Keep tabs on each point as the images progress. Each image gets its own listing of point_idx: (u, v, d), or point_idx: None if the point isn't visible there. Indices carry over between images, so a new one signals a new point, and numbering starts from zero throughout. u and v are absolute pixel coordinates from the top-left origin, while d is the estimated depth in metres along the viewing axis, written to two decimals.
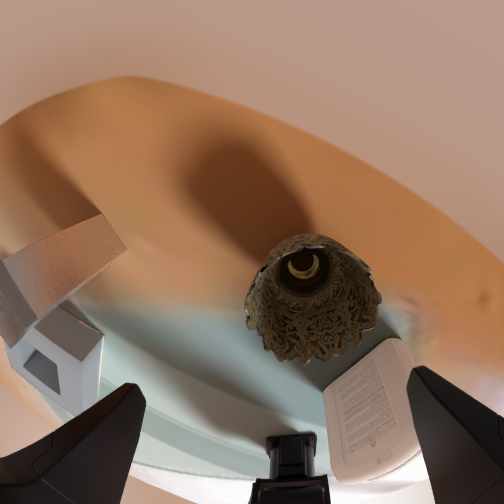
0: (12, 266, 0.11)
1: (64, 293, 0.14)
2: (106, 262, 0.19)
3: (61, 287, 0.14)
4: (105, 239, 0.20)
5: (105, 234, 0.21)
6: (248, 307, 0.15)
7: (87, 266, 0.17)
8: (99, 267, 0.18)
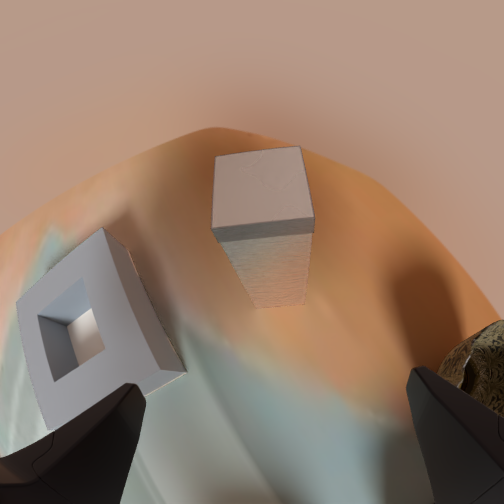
0: None
1: (309, 258, 0.14)
2: None
3: None
4: None
5: None
6: (468, 357, 0.11)
7: None
8: (306, 285, 0.18)
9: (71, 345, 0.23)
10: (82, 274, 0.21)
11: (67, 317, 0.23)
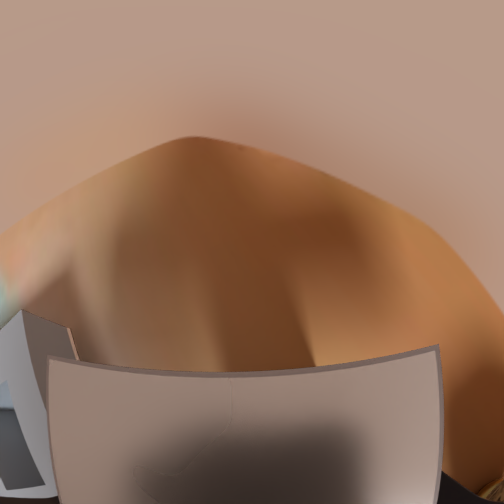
0: None
1: None
2: None
3: None
4: None
5: None
6: None
7: None
8: None
9: (23, 435, 0.12)
10: (6, 376, 0.10)
11: (11, 406, 0.13)
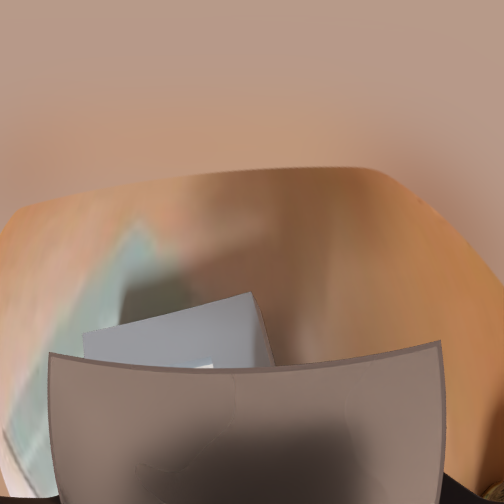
0: None
1: None
2: None
3: None
4: None
5: None
6: None
7: None
8: None
9: None
10: (210, 353, 0.17)
11: None
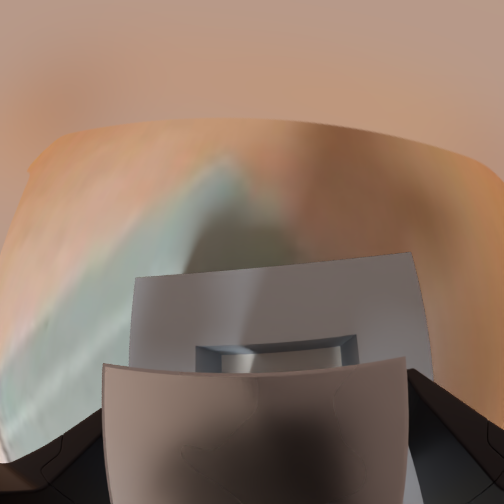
0: None
1: None
2: None
3: None
4: None
5: None
6: None
7: None
8: None
9: None
10: (357, 329, 0.11)
11: (241, 352, 0.14)
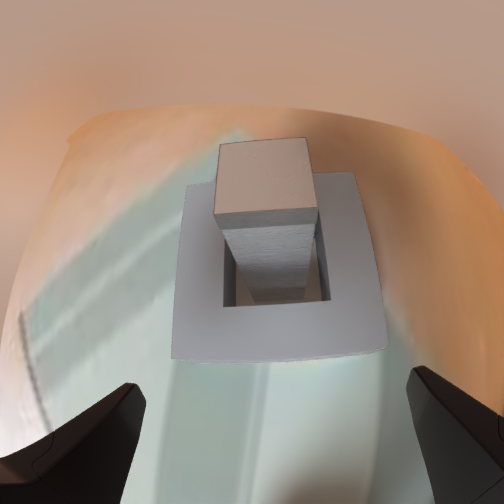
0: None
1: (310, 250, 0.14)
2: (305, 284, 0.19)
3: None
4: None
5: None
6: None
7: None
8: (306, 279, 0.18)
9: (234, 266, 0.24)
10: (318, 206, 0.20)
11: None
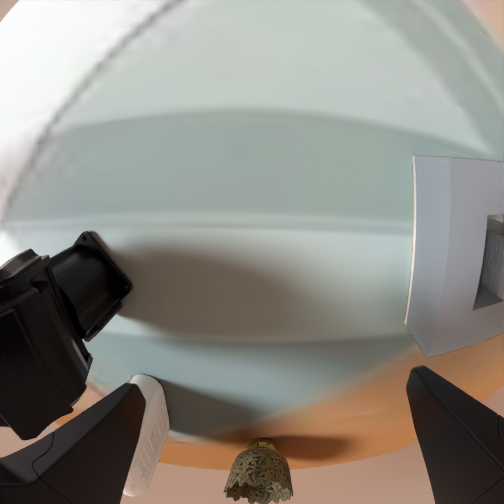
0: None
1: None
2: (481, 282, 0.15)
3: None
4: None
5: None
6: (288, 490, 0.20)
7: None
8: (489, 288, 0.14)
9: None
10: None
11: None
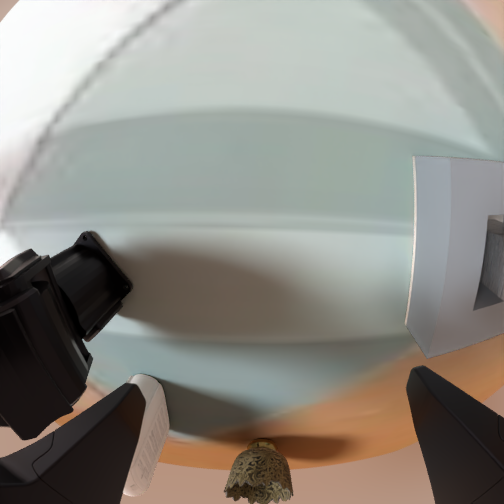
0: None
1: None
2: (482, 282, 0.15)
3: None
4: None
5: None
6: (288, 490, 0.20)
7: None
8: (489, 288, 0.14)
9: None
10: None
11: None
